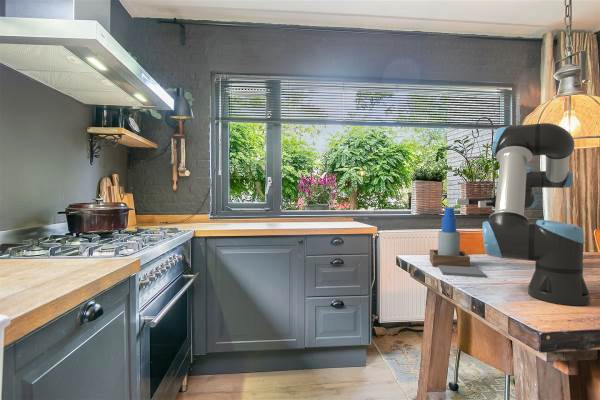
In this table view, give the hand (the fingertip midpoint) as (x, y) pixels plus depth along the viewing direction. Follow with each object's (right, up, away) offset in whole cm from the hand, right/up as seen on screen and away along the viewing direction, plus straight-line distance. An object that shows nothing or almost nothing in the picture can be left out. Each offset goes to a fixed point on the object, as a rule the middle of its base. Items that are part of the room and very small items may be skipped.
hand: (467, 203), depth 154 cm
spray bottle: (-9, -27, -1) cm, 29 cm away
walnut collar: (-9, -27, -1) cm, 28 cm away
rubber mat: (-10, -27, -16) cm, 33 cm away
